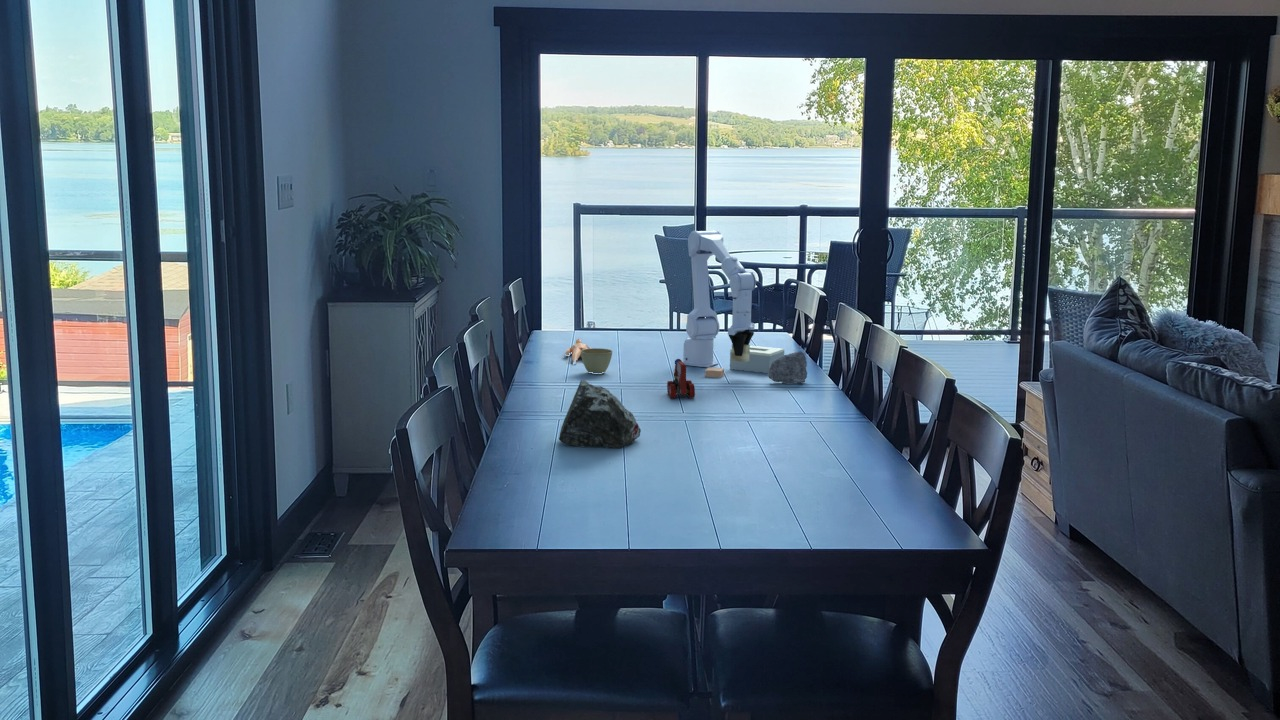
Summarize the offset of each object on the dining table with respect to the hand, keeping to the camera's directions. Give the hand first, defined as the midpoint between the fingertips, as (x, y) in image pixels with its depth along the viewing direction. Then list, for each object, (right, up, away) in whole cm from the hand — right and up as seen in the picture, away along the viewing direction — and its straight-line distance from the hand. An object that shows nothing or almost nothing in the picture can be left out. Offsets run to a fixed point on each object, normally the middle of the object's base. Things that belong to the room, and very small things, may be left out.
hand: (740, 355), depth 336 cm
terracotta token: (-8, -7, +4) cm, 11 cm away
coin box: (+7, -4, +16) cm, 18 cm away
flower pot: (-45, -6, +7) cm, 46 cm away
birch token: (0, -2, 0) cm, 2 cm away
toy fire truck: (-20, -12, -26) cm, 35 cm away
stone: (-42, -22, -79) cm, 92 cm away
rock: (+14, -9, -7) cm, 18 cm away
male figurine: (-51, -1, +33) cm, 61 cm away
